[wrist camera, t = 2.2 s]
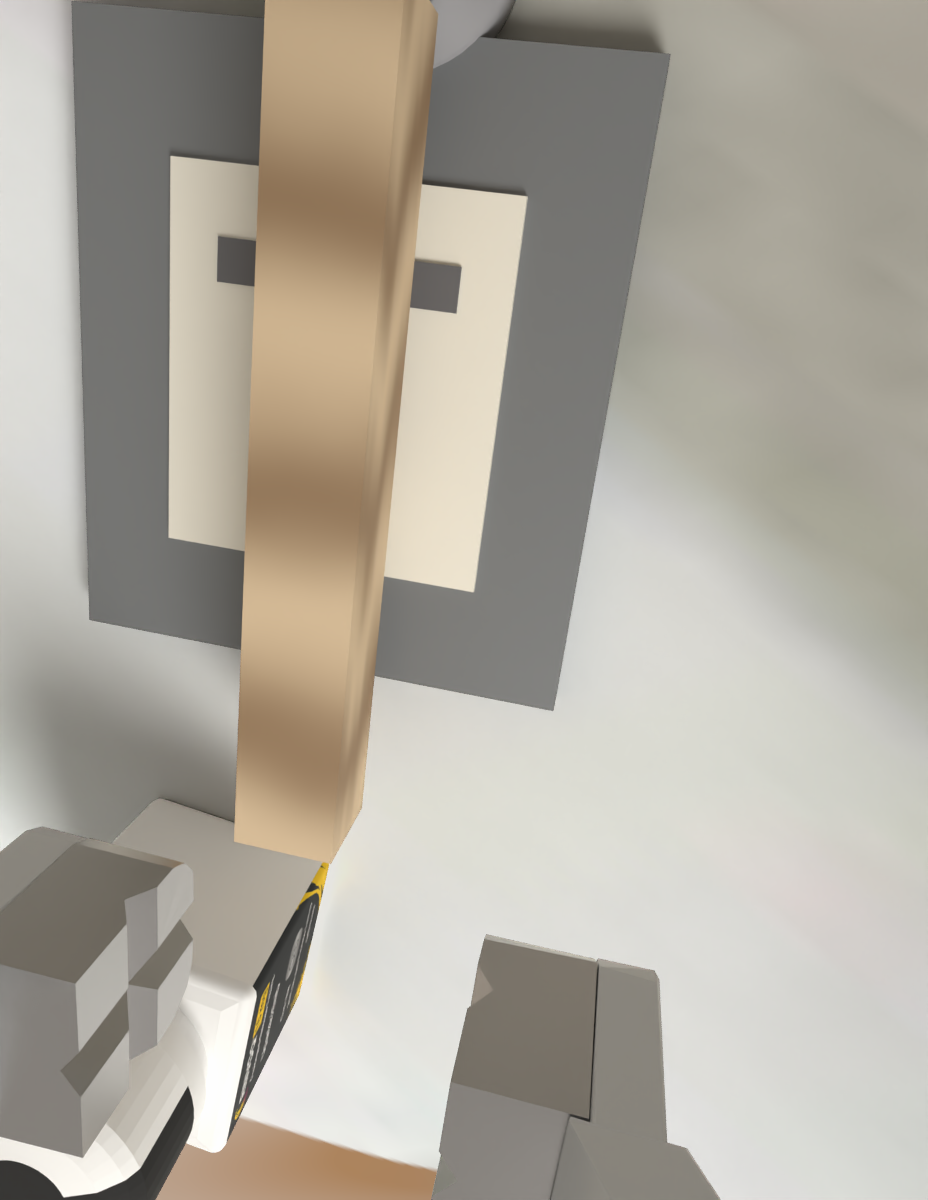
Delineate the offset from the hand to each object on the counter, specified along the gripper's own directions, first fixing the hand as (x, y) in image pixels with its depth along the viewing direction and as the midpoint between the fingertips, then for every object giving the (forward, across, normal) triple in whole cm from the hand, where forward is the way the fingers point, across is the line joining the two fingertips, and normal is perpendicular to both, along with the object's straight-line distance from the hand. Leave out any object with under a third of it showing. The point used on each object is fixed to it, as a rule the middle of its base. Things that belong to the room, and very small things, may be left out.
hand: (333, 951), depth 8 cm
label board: (+19, +7, -6) cm, 21 cm away
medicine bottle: (+19, +10, +17) cm, 27 cm away
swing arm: (+17, +6, -3) cm, 18 cm away
